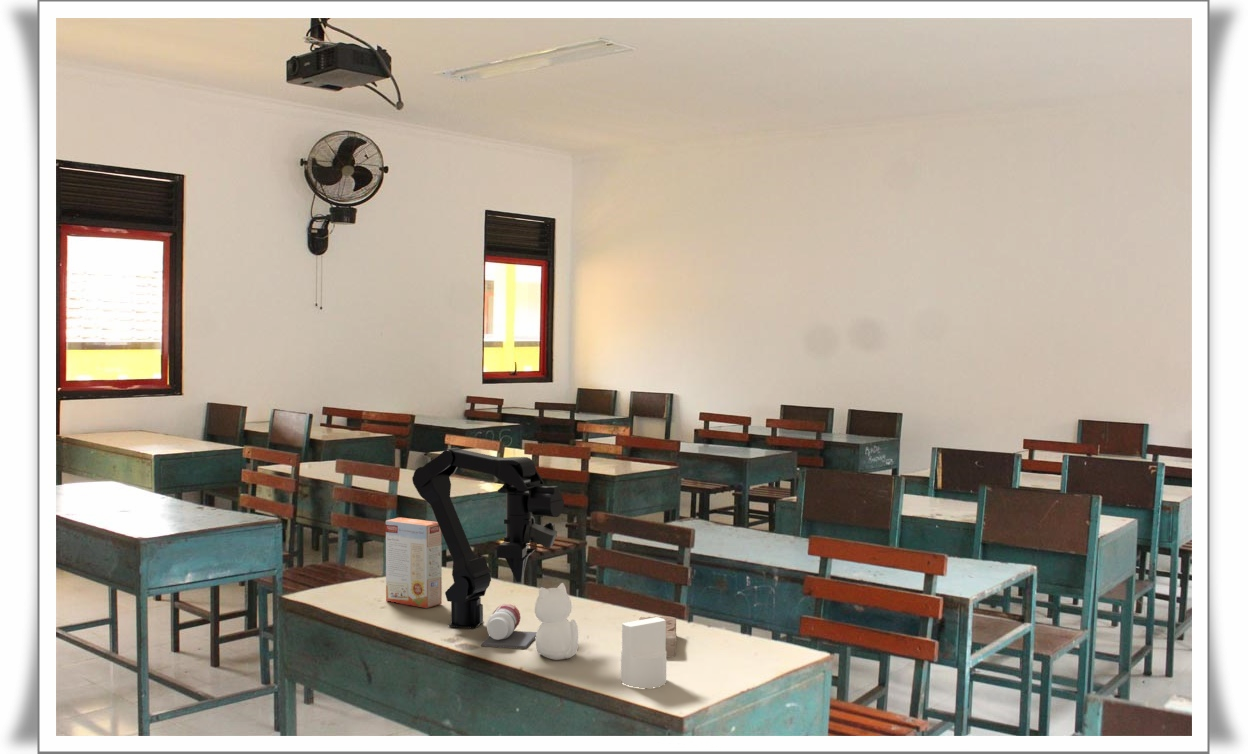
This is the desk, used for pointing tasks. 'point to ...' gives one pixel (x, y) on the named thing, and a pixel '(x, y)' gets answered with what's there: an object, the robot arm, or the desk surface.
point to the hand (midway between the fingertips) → (519, 581)
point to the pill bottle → (503, 621)
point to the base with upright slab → (644, 653)
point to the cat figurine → (555, 624)
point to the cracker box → (413, 562)
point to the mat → (511, 640)
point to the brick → (668, 634)
